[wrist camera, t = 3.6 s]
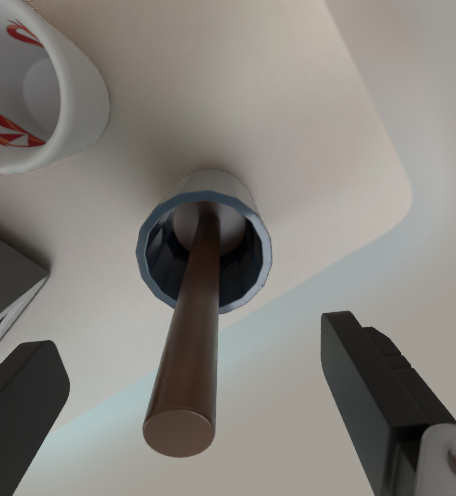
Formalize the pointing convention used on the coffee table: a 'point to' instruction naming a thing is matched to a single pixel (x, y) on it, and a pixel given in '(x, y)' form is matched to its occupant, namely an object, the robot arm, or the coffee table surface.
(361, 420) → the robot arm
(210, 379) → the wooden plunger
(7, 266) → the alarm clock
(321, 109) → the coffee table surface
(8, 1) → the cup
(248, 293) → the utensil crock
